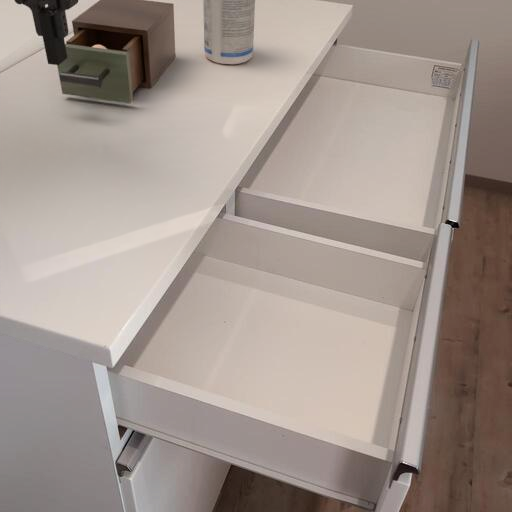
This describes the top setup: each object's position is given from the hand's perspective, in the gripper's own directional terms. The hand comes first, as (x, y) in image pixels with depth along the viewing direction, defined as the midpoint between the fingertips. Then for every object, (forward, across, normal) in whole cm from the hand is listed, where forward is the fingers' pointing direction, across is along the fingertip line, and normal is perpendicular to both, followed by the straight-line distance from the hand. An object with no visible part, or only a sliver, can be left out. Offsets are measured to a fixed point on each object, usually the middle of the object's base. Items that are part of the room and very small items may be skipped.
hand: (57, 60), depth 74 cm
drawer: (+10, 0, +15) cm, 18 cm away
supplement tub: (+11, +16, +37) cm, 42 cm away
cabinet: (+11, 0, +26) cm, 28 cm away
